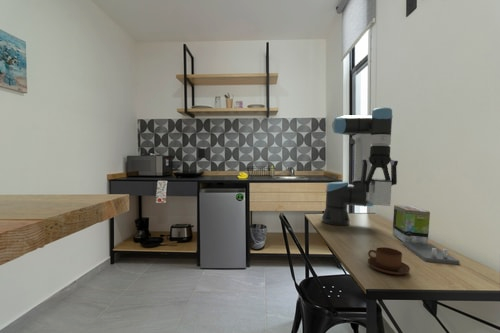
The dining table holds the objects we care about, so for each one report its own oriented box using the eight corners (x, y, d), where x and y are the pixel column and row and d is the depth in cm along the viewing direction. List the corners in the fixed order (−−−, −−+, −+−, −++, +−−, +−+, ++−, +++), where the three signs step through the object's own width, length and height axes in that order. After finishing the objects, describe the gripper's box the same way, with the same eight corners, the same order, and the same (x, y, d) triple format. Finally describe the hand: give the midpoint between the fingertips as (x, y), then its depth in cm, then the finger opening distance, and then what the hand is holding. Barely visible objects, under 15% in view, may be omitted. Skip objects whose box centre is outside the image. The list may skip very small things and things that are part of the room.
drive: (365, 200, 114) (366, 177, 114) (380, 201, 113) (381, 178, 113) (374, 204, 103) (375, 179, 102) (390, 205, 102) (391, 180, 101)
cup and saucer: (369, 273, 80) (370, 254, 80) (366, 260, 91) (367, 243, 91) (413, 281, 76) (415, 260, 76) (405, 266, 87) (406, 248, 87)
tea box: (429, 245, 111) (430, 211, 110) (403, 243, 113) (405, 209, 112) (414, 235, 125) (415, 205, 125) (391, 233, 127) (393, 204, 127)
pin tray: (402, 244, 111) (403, 234, 111) (430, 246, 109) (431, 236, 109) (425, 261, 92) (425, 249, 92) (459, 264, 90) (460, 252, 90)
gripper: (358, 144, 105) (355, 200, 106) (409, 145, 102) (405, 203, 103) (354, 145, 113) (351, 198, 113) (401, 146, 109) (398, 200, 110)
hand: (377, 200), depth 108 cm, fingers closed on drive, 6 cm apart
